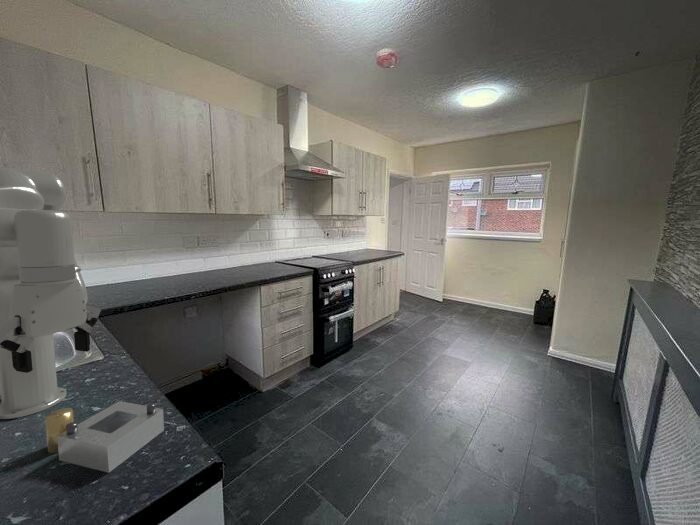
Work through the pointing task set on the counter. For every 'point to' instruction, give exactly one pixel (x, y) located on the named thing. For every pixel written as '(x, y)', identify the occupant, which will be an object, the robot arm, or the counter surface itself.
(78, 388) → the counter surface
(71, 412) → the brass cylinder
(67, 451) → the jig
